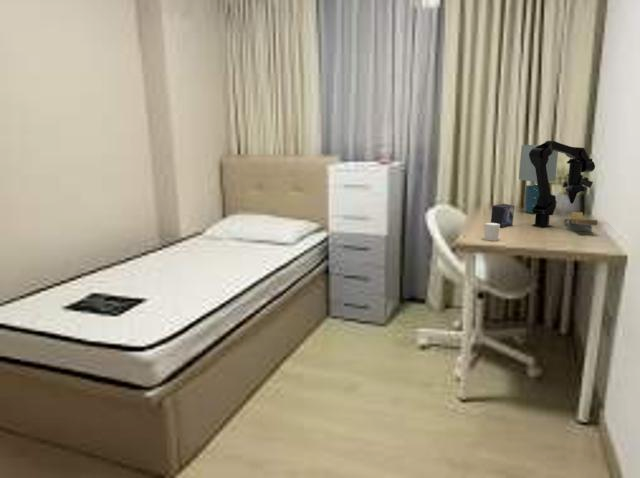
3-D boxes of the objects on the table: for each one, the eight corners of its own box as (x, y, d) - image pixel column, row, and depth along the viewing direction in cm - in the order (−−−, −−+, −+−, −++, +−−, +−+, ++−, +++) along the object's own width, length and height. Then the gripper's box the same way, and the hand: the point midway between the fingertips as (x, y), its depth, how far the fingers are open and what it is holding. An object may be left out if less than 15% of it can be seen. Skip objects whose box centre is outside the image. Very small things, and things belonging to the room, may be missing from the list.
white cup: (488, 241, 235) (489, 225, 234) (479, 238, 242) (480, 222, 240) (502, 240, 237) (503, 224, 236) (493, 237, 244) (494, 222, 242)
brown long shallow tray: (597, 225, 246) (597, 220, 246) (577, 224, 248) (577, 219, 247) (581, 223, 271) (581, 219, 271) (563, 223, 273) (563, 218, 273)
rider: (582, 221, 264) (582, 212, 264) (571, 221, 265) (571, 212, 265) (578, 221, 271) (578, 212, 271) (567, 221, 272) (568, 212, 271)
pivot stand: (599, 236, 247) (600, 226, 246) (572, 234, 249) (573, 225, 248) (584, 225, 271) (585, 216, 270) (560, 224, 273) (561, 215, 272)
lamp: (519, 214, 301) (525, 146, 293) (512, 209, 320) (518, 144, 311) (556, 215, 298) (563, 146, 290) (546, 210, 317) (553, 145, 309)
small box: (501, 228, 264) (503, 207, 262) (489, 226, 269) (491, 205, 267) (513, 225, 271) (515, 205, 268) (501, 223, 276) (503, 203, 273)
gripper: (598, 174, 261) (594, 206, 264) (586, 171, 278) (583, 201, 282) (573, 174, 263) (570, 206, 266) (563, 170, 280) (560, 200, 284)
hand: (571, 203), depth 274 cm, fingers closed
